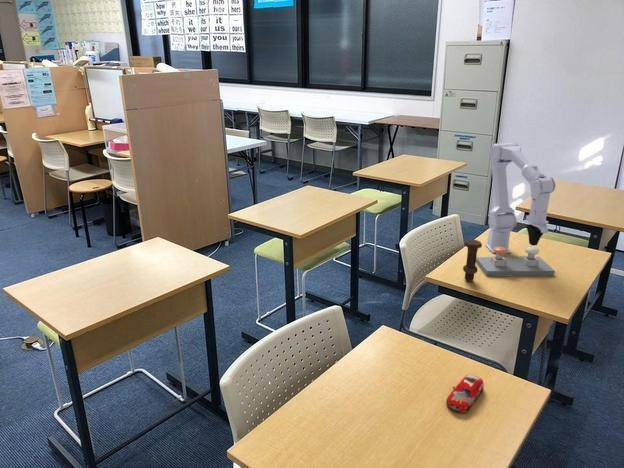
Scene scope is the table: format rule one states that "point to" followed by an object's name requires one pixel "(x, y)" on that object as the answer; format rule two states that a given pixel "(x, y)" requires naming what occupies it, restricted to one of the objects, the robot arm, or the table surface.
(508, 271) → the press plate
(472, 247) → the bolt
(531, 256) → the grey plunger
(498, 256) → the terracotta plunger
